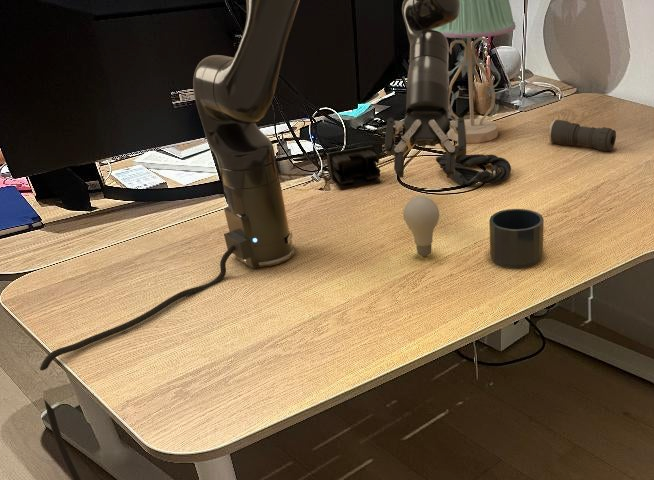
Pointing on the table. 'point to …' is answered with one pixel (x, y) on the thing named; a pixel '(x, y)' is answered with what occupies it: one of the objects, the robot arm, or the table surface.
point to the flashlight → (581, 135)
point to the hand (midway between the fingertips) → (424, 176)
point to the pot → (516, 238)
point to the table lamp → (472, 22)
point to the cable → (473, 176)
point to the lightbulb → (421, 222)
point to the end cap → (354, 167)
